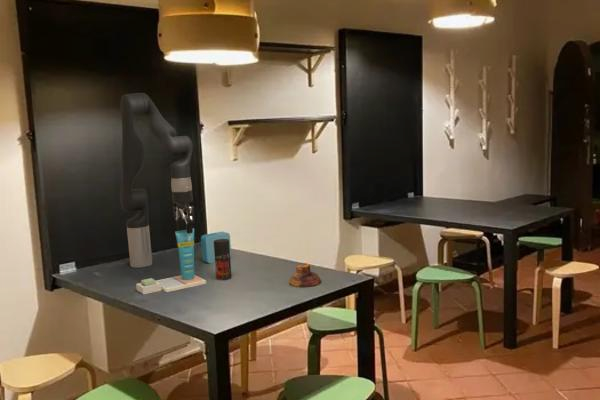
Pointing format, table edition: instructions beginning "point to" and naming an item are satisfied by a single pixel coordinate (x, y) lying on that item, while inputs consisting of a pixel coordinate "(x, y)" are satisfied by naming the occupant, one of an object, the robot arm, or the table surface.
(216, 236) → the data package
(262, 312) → the table surface
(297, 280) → the bell
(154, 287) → the button frame
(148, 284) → the button
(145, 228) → the robot arm
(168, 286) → the picture card
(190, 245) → the tube
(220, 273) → the deodorant
